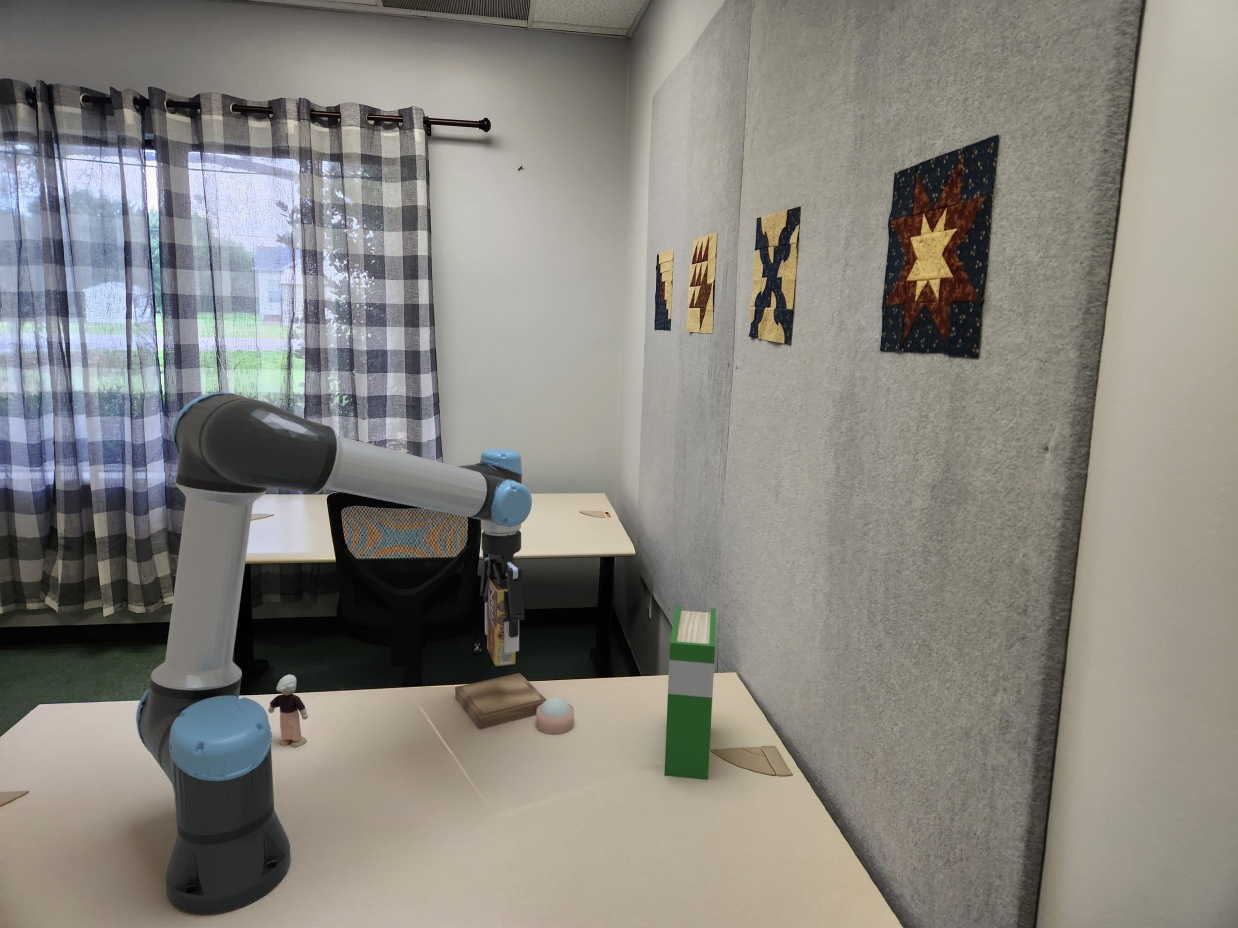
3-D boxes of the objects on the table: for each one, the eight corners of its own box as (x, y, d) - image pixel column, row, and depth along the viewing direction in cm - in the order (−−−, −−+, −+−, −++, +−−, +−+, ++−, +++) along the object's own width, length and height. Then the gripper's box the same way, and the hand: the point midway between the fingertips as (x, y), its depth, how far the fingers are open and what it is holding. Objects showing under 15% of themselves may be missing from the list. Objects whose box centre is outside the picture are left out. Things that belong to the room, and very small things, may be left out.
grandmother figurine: (315, 736, 140) (313, 671, 137) (307, 748, 136) (303, 681, 134) (274, 735, 140) (270, 670, 137) (264, 746, 136) (260, 679, 134)
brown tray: (548, 715, 150) (548, 700, 149) (480, 732, 143) (480, 717, 142) (519, 686, 161) (519, 672, 161) (455, 700, 154) (455, 686, 154)
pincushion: (579, 732, 144) (580, 702, 143) (546, 741, 140) (546, 711, 139) (563, 715, 150) (563, 687, 149) (530, 724, 146) (530, 695, 145)
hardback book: (670, 723, 148) (676, 605, 144) (709, 727, 147) (715, 608, 143) (664, 775, 131) (670, 642, 127) (707, 779, 130) (715, 646, 126)
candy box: (517, 664, 147) (518, 588, 144) (495, 667, 145) (495, 590, 143) (507, 646, 155) (508, 573, 152) (486, 648, 154) (486, 575, 151)
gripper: (544, 542, 138) (543, 659, 142) (498, 515, 157) (498, 619, 161) (505, 547, 134) (505, 667, 138) (462, 519, 153) (463, 625, 157)
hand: (501, 641), depth 150 cm, fingers closed on candy box, 9 cm apart
